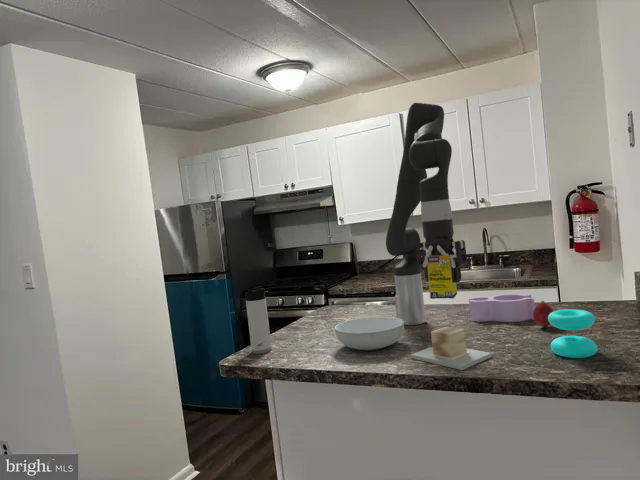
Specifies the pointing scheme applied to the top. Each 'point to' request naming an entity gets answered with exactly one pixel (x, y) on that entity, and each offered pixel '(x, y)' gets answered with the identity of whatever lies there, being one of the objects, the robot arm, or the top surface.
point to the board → (457, 362)
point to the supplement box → (440, 277)
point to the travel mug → (258, 321)
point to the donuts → (572, 344)
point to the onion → (542, 314)
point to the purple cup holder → (502, 308)
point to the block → (449, 342)
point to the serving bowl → (369, 332)
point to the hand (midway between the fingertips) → (443, 281)
